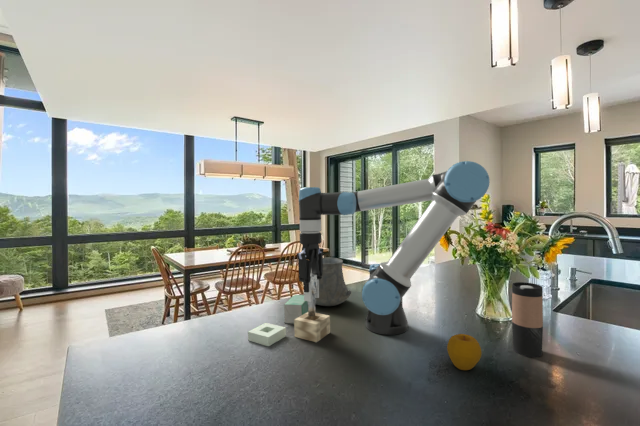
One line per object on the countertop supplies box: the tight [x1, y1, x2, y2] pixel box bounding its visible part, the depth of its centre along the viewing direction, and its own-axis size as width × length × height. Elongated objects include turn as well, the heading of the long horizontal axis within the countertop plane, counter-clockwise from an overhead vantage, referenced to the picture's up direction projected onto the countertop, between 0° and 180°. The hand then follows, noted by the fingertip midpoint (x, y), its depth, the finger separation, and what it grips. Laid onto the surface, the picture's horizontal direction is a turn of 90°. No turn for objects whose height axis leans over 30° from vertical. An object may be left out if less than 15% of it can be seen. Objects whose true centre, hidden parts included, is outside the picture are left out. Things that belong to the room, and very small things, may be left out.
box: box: [283, 294, 308, 325], centre depth 124 cm, size 7×14×8 cm, turn 168°
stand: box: [247, 322, 287, 347], centre depth 105 cm, size 9×9×3 cm
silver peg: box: [308, 274, 317, 316], centre depth 107 cm, size 4×4×14 cm
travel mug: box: [511, 281, 544, 358], centre depth 92 cm, size 8×8×20 cm
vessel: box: [311, 257, 352, 307], centre depth 141 cm, size 22×22×20 cm
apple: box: [446, 333, 483, 371], centre depth 84 cm, size 8×8×9 cm
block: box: [293, 312, 331, 343], centre depth 107 cm, size 9×9×6 cm
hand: (311, 298), depth 107 cm, fingers closed on silver peg, 4 cm apart
